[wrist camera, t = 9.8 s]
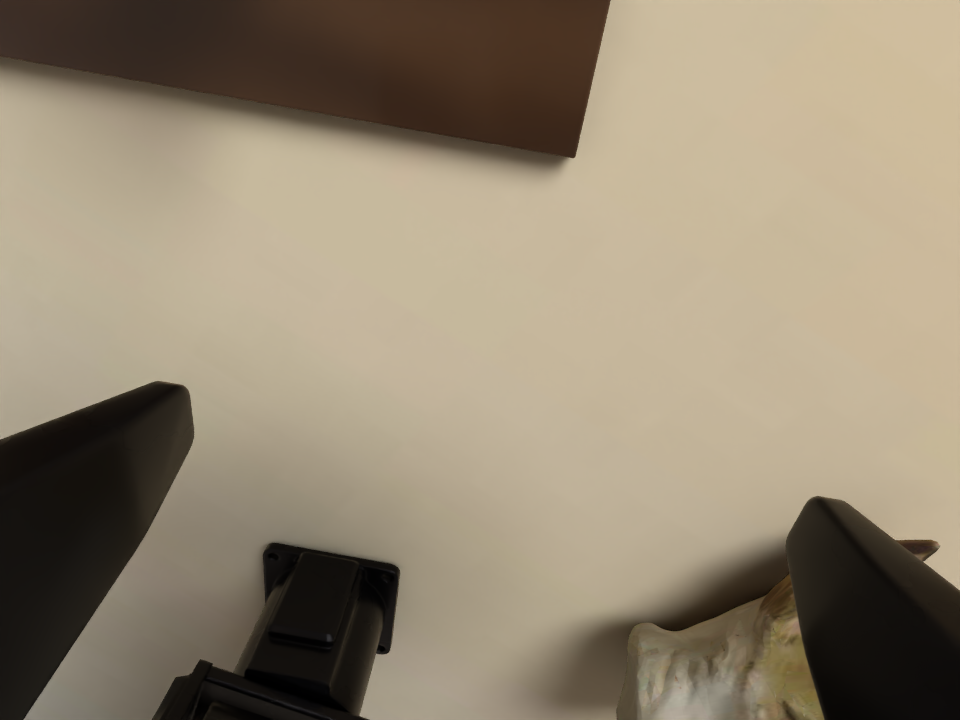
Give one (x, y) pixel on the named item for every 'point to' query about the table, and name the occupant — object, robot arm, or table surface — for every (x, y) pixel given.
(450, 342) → the table surface
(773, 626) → the ceramic sculpture
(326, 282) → the table surface
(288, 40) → the walnut board
